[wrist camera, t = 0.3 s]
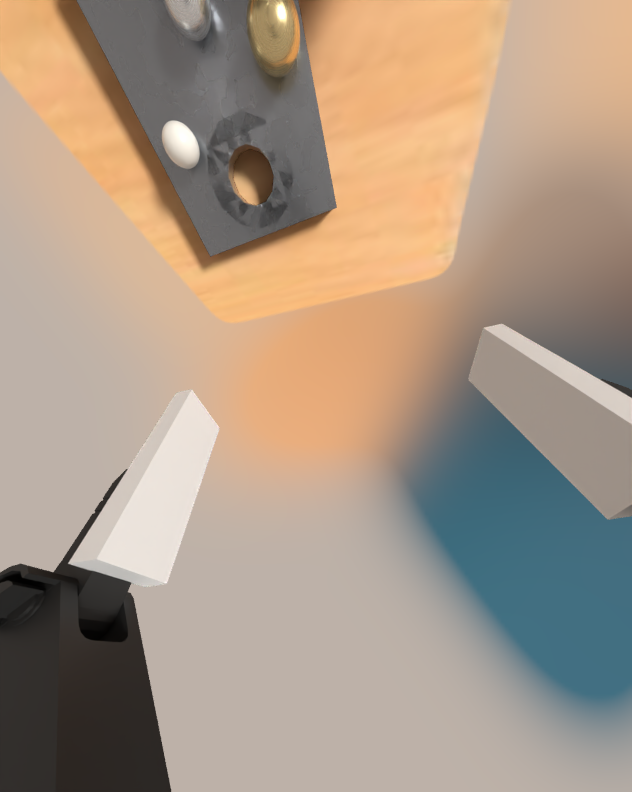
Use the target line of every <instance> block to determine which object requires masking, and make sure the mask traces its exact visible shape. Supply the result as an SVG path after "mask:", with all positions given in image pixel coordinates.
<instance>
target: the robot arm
mask: <svg viewBox="0 0 632 792" xmlns="http://www.w3.org/2000/svg"><path fill="white" fill-rule="evenodd" d="M468 380H469V381H470V382H471V383H472V384H473V385H474V386H475V387H476V388H477V389H478V390H479V391H480V392H481V393H482V394H483V395H484V396H485V397H486V398H487V399H488V400H489V401H490V402H491V403H492V404H493V405H494V406H495V407H496V408H497V409H498V410H499V411H500V412H501V413H502V414H503V415H504V416H505V417H506V418H507V419H508V420H509V421H510V422H511V423H512V424H513V425H514V426H515V427H516V428H517V429H518V430H519V431H520V432H521V433H522V434H523V435H524V436H525V437H526V438H527V439H528V440H529V441H530V442H531V443H533V445H534V446H535V447H536V448H537V449H538V450H539V451H540V452H541V453H542V454H543V455H544V456H545V457H546V458H547V459H548V460H549V461H550V462H551V463H552V464H553V465H554V466H555V467H556V468H557V469H558V470H559V471H560V472H561V473H562V474H563V475H564V476H565V477H566V478H567V479H568V480H569V481H570V482H571V483H572V484H573V485H574V486H575V487H576V488H577V489H578V490H579V491H580V492H581V493H582V494H583V495H584V496H585V497H586V498H587V499H588V500H589V501H590V502H591V503H592V504H593V505H594V506H595V507H596V508H597V509H598V510H599V511H600V512H601V513H602V514H603V515H604V516H605V517H606V518H607V519H615V518H622V517H628V516H632V390H630V389H629V388H626V387H623V386H621V385H618V384H615V383H612V382H609V381H606V380H603V379H601V380H599V379H597V378H596V377H594V376H592V375H591V374H589V373H587V372H585V371H584V370H582V369H580V368H578V367H577V366H575V365H573V364H571V363H570V362H568V361H566V360H564V359H563V358H561V357H559V356H557V355H556V354H554V353H552V352H550V351H549V350H547V349H545V348H543V347H542V346H540V345H538V344H536V343H534V342H533V341H531V340H529V339H527V338H525V337H524V336H522V335H521V334H519V333H517V332H515V331H514V330H512V329H510V328H508V327H507V326H505V325H503V324H500V325H494V326H490V327H485V328H483V331H482V334H481V337H480V341H479V344H478V347H477V351H476V354H475V358H474V361H473V365H472V368H471V371H470V375H469V379H468ZM218 431H219V427H218V425H217V424H216V422H215V421H214V420H213V418H212V417H211V416H210V414H209V413H208V411H207V410H206V409H205V407H204V406H203V404H202V403H201V402H200V400H199V399H198V397H197V396H196V395H195V393H194V392H193V390H192V389H191V390H186V391H182V392H177V393H176V394H175V396H174V397H173V399H172V400H171V402H170V403H169V405H168V407H167V408H166V410H165V411H164V413H163V415H162V416H161V418H160V419H159V421H158V422H157V424H156V426H155V427H154V429H153V430H152V432H151V434H150V435H149V437H148V438H147V440H146V441H145V443H144V445H143V446H142V448H141V449H140V451H139V452H138V454H137V456H136V457H135V459H134V460H133V462H132V463H131V465H130V467H129V468H128V469H126V470H125V471H124V472H123V473H122V474H121V475H120V476H119V477H118V478H117V479H116V480H115V481H114V483H112V485H111V487H110V488H109V490H108V491H107V493H106V494H105V496H104V498H103V501H101V502H100V503H99V505H98V506H97V508H96V509H95V513H94V514H92V516H91V517H90V519H89V520H88V522H87V523H86V525H85V526H84V528H83V529H82V531H81V532H80V534H79V535H78V537H77V539H76V540H75V542H74V543H73V544H72V546H71V547H70V549H69V551H68V552H67V554H66V555H65V557H64V558H63V560H62V561H61V563H60V564H59V565H58V567H57V568H56V570H55V571H54V572H50V571H46V570H42V569H38V568H35V567H31V566H27V565H23V564H18V565H15V566H11V567H9V568H7V569H6V570H4V571H2V572H1V573H0V792H171V788H170V783H169V778H168V772H167V767H166V762H165V757H164V752H163V747H162V742H161V736H160V731H159V726H158V721H157V716H156V711H155V706H154V701H153V696H152V691H151V686H150V680H149V675H148V670H147V665H146V660H145V655H144V649H143V644H142V640H141V634H140V629H139V625H138V619H137V614H136V608H135V603H134V598H133V597H132V595H131V593H128V589H129V587H130V585H131V583H133V584H137V585H140V586H143V587H147V586H155V585H162V584H167V582H168V578H169V576H170V572H171V570H172V567H173V564H174V561H175V558H176V555H177V552H178V549H179V546H180V543H181V540H182V537H183V534H184V531H185V529H186V526H187V522H188V519H189V517H190V513H191V511H192V508H193V505H194V502H195V499H196V496H197V493H198V490H199V487H200V484H201V481H202V478H203V475H204V472H205V469H206V466H207V464H208V461H209V458H210V455H211V452H212V449H213V446H214V443H215V440H216V437H217V434H218Z"/></svg>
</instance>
